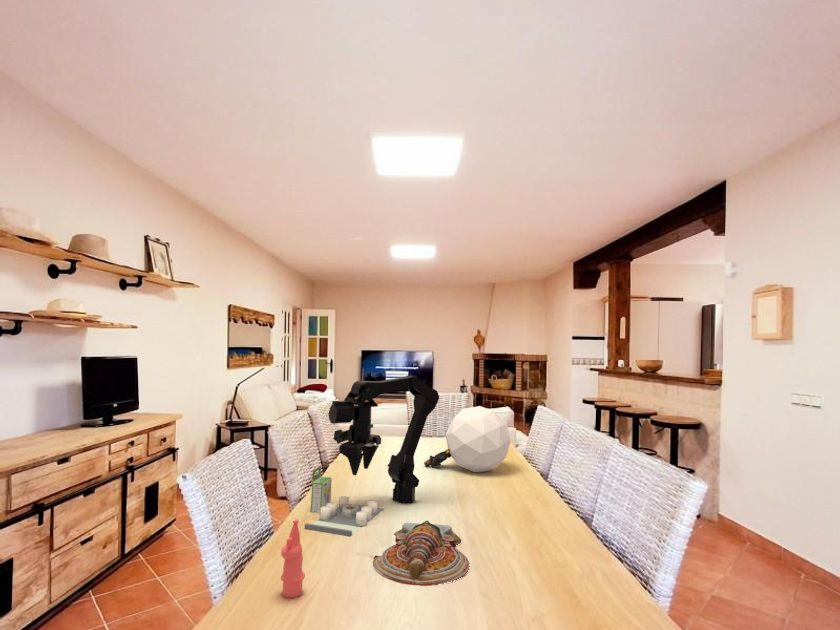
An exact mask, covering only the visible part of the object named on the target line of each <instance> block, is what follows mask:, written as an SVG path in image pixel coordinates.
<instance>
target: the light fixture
mask: <svg viewBox="0 0 840 630" xmlns="http://www.w3.org/2000/svg"><path fill="white" fill-rule="evenodd" d="M445 439H446V445H447V449H445V450H444V451H441V452H439V453H436V454H435V455H429V459H427V460H425V461H424V462H423V464H424V466H425V467H426V468H433V467H438V466H441V465H442V463H443V462H444V461H446V460H448V459H449V458H452V459H453V460H454V461H455V463H456V465H458V466H459V467H461V468H463V469H466V470H469V471H471V472H473V473H475V472H478V473H483V472H488V471H494V470H495V469H496V468H497V467H498V466H499V465H500V464H501V463H502V462H503V461H504V460H505V459H506V458H507V456H508V452H509V448H510V445H511V438H510V432H509V427H508V423H507V421H505V419H503V418H502V417H501V415H499V414H498V413H497V412H496V411H494V410H492V409H490V408H487V407H483V406H482V405H478V406H473V407H466V408H462V409H461V410H460V411H459V412H458V413H457V414H456V415H455V416H454V417H453V418H452V420H451V422H450V424H449V426H448V428H447V431H446V433H445Z"/></svg>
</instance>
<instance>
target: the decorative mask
mask: <svg viewBox="0 0 840 630" xmlns="http://www.w3.org/2000/svg"><path fill="white" fill-rule="evenodd" d="M393 535H394V536H395V544H394V545H391V546H389V547H387V548H386V549H385V550H384V551H383V552H382V554H381V556H380V555H375V556H374V557H373V558H372V567H373V569H374V571H375V572H376V574H378V575H380V576H381V577H382V578H384V579H387V580H390V581H391V582H395V583H398V584H403V585H407V586H408V585H409V586H417V585H419V587H420V586H421V587H431V586H433V585H434V586H439V585H438V584H442V585H445V584H444V583H447V582H451V581H452V582H451V583H454V582H453V581H454V580H457V579H459V578H461V577H463V576H464V575H465V574H466V573H467V572H468V570H469V571H470V569H469V567H470V568H471V566H469V564H470V561H469V559H468V557H467V556H466V555H465V554H464V553H463V552H461V551H460V550H458V549H457V548H456V547H455V546H456V545H458V544H460V543H461V541H462V539H461V538H460V536H458V535H457V534H456V533H455V532H454V531H453V529H452V526H451V525H448V524H439V523H438V524H437V523H431V522H430V521H429V520H424V521H423V522H422V523H417V522H416V523H415V522H404V523H403V524H402V527H401V529H399V530H397V531H395V532H393ZM461 544H462V543H461ZM461 544H460V545H461ZM468 573H469V572H468ZM468 573H467V574H468ZM467 574H466V575H467ZM466 575H465V576H466ZM465 576H464V577H465ZM464 577H463V578H464ZM461 579H462V578H461ZM459 580H460V579H459ZM457 581H458V580H457ZM447 584H448V583H447Z"/></svg>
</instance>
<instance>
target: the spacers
mask: <svg viewBox="0 0 840 630" xmlns="http://www.w3.org/2000/svg"><path fill="white" fill-rule="evenodd" d="M349 500H350V497H349V496H347V495H342V496H339V497H338V503H336V502H331V503H327V505H326V506H323V507H321V510H320V513H319V515H320V517H319V519H320V520H322V521H328V520H330V519H331V517H334V516H336V509H337V507H339V509H341V510H342V507H343V506H347V505H348V504H350V501H349ZM337 505H338V506H337ZM363 506H364V507H362V508H361V511H359V512H357V513H356V526H360V527H362V526H363V527H365V526H367V524H368V523H367V521H369V520H370V521H371V520H372V519H371V515H374V514H377V508H378V501H377V500H369V501H367V505H363ZM370 521H369V522H370ZM363 527H362V528H363Z"/></svg>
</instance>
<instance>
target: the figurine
mask: <svg viewBox="0 0 840 630" xmlns="http://www.w3.org/2000/svg"><path fill="white" fill-rule="evenodd" d="M299 522H300V521H299V519H297V518H296V519H293V520H292V523H293V525H292V528H291V530H290V533H289V535H288V538H287V539H286V544H285V545H283V547H281V550H280V551H281V552H280V555H281V557H282V558H283V559H284V561H283V571H282V574H281V576H280V580H281V582H282V596H283V597H285V598H289V599H291V598H297V597H299V596H301V595H302V594H303V582H304V581H303V580H304V579H305V578H306V574H305V572H303V561H304V560H303V559H304V557H303V547H302V544H301V543H302V542H301V534H300V530H299V526H298V525H299Z"/></svg>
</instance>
